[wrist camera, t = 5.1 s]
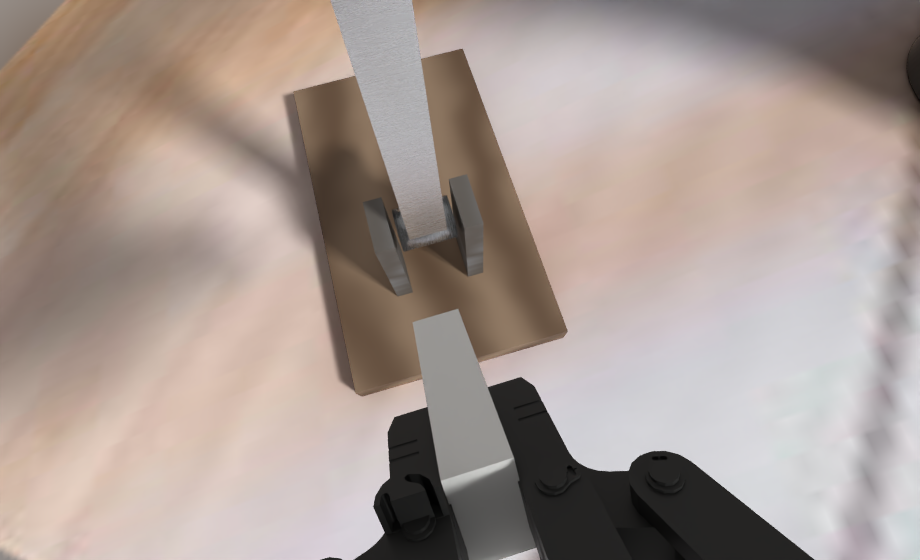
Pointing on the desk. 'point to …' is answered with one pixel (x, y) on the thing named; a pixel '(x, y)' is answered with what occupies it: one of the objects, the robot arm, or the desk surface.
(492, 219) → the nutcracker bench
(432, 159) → the lever
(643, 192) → the desk surface
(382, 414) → the desk surface
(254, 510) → the desk surface
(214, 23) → the desk surface
